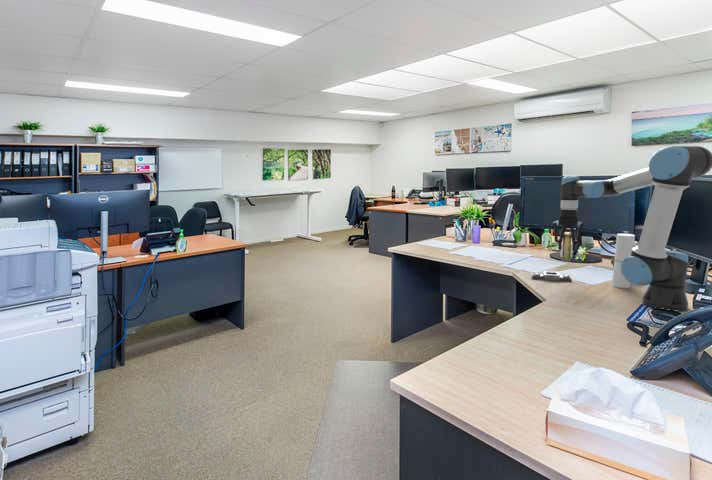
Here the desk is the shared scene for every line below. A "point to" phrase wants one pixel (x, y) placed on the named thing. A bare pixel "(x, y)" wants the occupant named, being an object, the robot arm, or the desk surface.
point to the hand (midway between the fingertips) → (566, 256)
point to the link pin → (566, 246)
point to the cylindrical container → (622, 258)
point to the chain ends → (551, 276)
